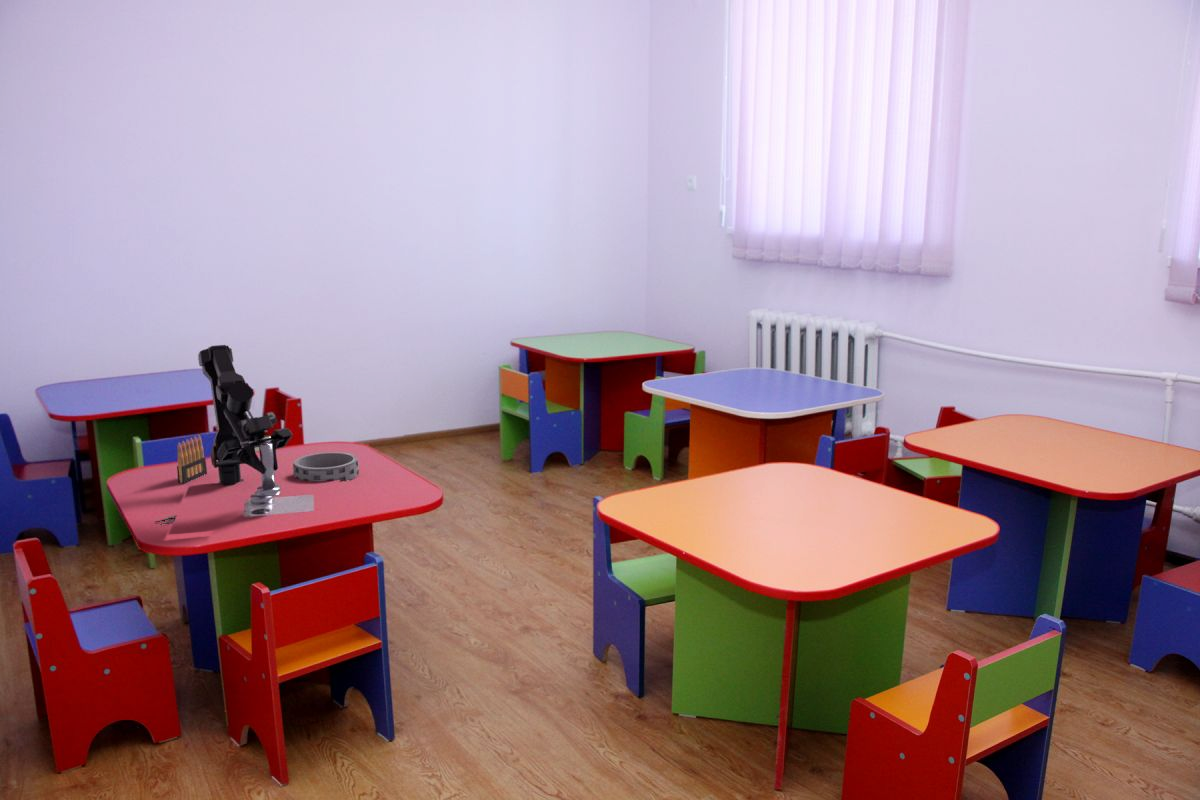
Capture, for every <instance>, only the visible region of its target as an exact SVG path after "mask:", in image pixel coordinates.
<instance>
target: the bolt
mask: <svg viewBox="0 0 1200 800" xmlns="http://www.w3.org/2000/svg"><path fill="white" fill-rule="evenodd" d="M258 449H259V450H258V451H259V460H260V462H261V463H262V465H263V467H264V469H265V473H264V474H262V473H260V476H261V478H260V479H261V485H260V486H258V487H257V488H256V491H257V494H258V496H261V497H271V496H273V497H276V496H278V495H280V494H281V493H282V490H281V488H282V487H281V485H279V484H276V479H275V478H276V477H275V476H276V475H275V470H274V460H273V445H272V443H270V442H264V443H260V444H259V447H258Z"/></svg>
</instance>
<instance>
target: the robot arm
mask: <svg viewBox="0 0 1200 800" xmlns="http://www.w3.org/2000/svg"><path fill="white" fill-rule="evenodd" d="M197 355H198V357H197V358H198V359H197V360H198V364H199V367H201V370H202V374H203V375H204V377H206V379H208V381H209V382H210V389H211V394H212V395H211V397H212V401H213V411H214V416H215V422H216V428H217V432H216V435H215V437H214V440H213V444H212V445H213V446H211V451H210V453H211V454H210V461H211V465H212V466H213V468H214V469H216V468H217V469H218V477H219V481H218V484H221V485H222V486H234V485H236V484H238V483H240V482H244V478H242V474H241V465H247V466H249V467H251V468H253V469H254V470H256V471H257V472H258V473H260V474H261V473H262V474H264V473H265V469H264V467H263V465H262V463H261V462H260V457H259V456H258V455H257V452H256V449H257V448H259V444H260V443H264V442H270V443H272V445H273V460H274V472H276V471H278V469H279V466H278V458H277V450H278V449H279V450H280V449H282V448H285V447H286V446H287V445H288V443H289V441H290V440H291V438H292V437H293V433H292V431H291V430H290V429H289V428H287V427H284V428H279V429H274V430H273V432H272V433H271V435H270V436H266V437H265V435H267V434H268V433H269V431H268V430H269V429H272V428H274V425H276V424H277V423H278V420H277V419H278V418H277V416H276V415H275V413H274V412H273V411H270V412H267V413H264V414H263V416H258V417H257V416H256V417H254V416H253V414H252V412H251V411H250V410H251V407H252V402H253V395H254V389H253V388H252V387H251V386H250V385H249V384H248V382H246V380H245V379H244V376H243V375H242V374H239V373H238V372H236V369H235V367H234V364H233V362H234V355H233V349H232V348H230V347H229V345H226V344H219V345H211V346H208V348H206V349H202V350H200V351H199V352H198V354H197ZM255 448H256V449H255Z"/></svg>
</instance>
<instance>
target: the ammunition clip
mask: <svg viewBox="0 0 1200 800" xmlns="http://www.w3.org/2000/svg"><path fill="white" fill-rule="evenodd" d="M189 438H190V439H188V438H186V440H185V441H184V440H182V441H181V442H179V441H178V442H177V443H178V444H177V457H176V458H177V466H176V469H177V470H176V472H177V483H180V485H185V484H187V482H188V483H190V482H192V481H195V480H196V478H197V479H199V478H201V477H203V476H205V475H207V474H208V469H207V468H208V467H207V461H206V457H205V455H204V454H205V453H204V447H203V441H202V437H201V435H200V434H198V435H197V436H195V435H194V437H193V438H192V437H189ZM204 474H205V475H204ZM202 475H203V476H202ZM200 476H201V477H200ZM198 477H199V478H198ZM191 480H192V481H191ZM189 481H190V482H189Z"/></svg>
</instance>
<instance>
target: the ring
mask: <svg viewBox="0 0 1200 800" xmlns="http://www.w3.org/2000/svg"><path fill="white" fill-rule="evenodd" d="M292 466H293V467H292V469H293V478H296V479H297V478H298V480H300V481H305V480H308V482H328V481H330V480H333V481H336V480H339V483H342V482H343V481H344V482H348V481H347V480H349V481H351V480H353V478H354V479H356V478H357V477H358V476H359V473H360V471H359V469H360V468H359V459H358V457H357V455H355V454H352V453H349V452H341V451H340V452H339V451H330V452H329V451H327V452H324V451H323V452H317V453H311V454H307V455H303V456H300V457H298V458H297V459H295V460H294V461H293V464H292ZM356 476H357V477H356Z"/></svg>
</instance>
